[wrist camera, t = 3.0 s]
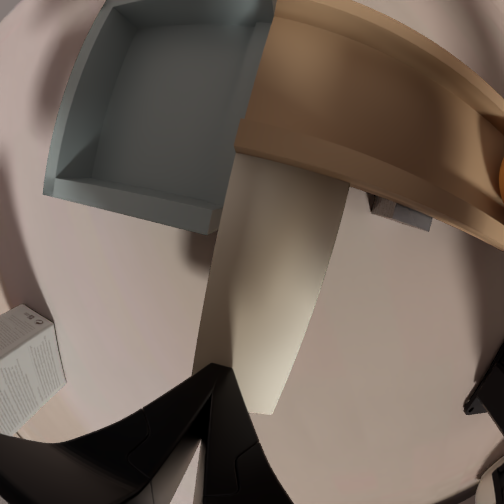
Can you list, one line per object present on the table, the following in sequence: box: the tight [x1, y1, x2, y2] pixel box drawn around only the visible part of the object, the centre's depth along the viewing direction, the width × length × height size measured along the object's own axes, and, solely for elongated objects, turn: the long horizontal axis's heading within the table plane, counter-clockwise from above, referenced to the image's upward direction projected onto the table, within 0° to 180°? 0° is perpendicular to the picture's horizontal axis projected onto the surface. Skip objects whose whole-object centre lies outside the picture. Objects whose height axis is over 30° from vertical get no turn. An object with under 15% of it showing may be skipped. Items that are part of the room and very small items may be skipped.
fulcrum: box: [371, 195, 433, 232], centre depth 8 cm, size 2×6×2 cm, turn 167°
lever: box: [192, 0, 504, 415], centre depth 7 cm, size 12×13×2 cm
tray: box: [43, 0, 277, 235], centre depth 9 cm, size 8×10×3 cm
